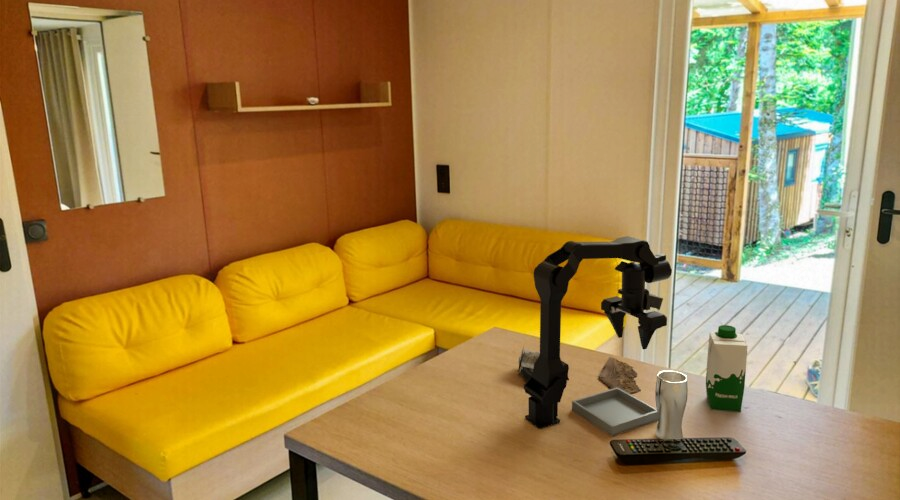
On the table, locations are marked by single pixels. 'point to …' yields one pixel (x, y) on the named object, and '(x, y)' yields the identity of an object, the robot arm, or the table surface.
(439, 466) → the table surface
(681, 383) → the metal tumbler
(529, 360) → the caster wheel
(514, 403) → the table surface
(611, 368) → the wooden fragment
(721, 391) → the milk carton
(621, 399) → the tray
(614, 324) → the robot arm
